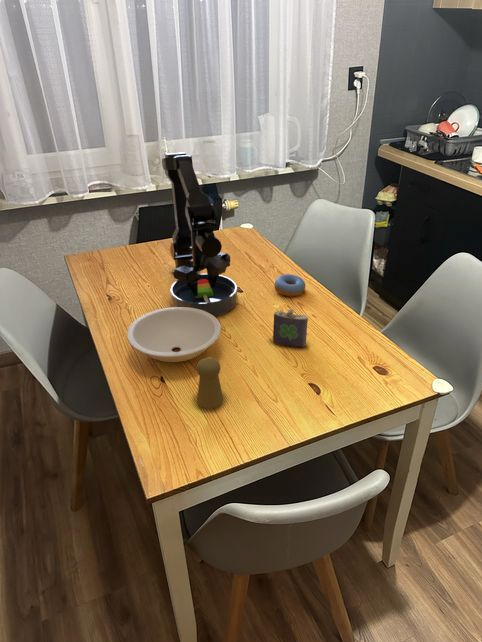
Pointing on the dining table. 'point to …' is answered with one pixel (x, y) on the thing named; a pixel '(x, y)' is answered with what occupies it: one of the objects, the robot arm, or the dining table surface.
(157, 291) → the dining table surface
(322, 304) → the dining table surface
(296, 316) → the flask
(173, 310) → the grey bowl
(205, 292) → the popsicle
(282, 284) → the doughnut
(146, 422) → the dining table surface
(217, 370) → the brown game pawn
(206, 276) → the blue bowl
